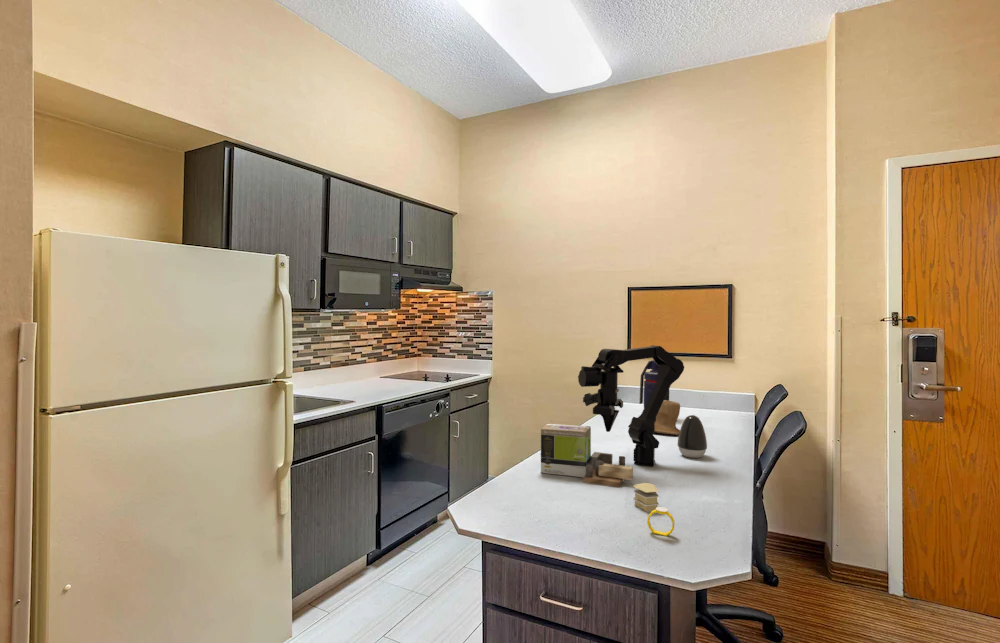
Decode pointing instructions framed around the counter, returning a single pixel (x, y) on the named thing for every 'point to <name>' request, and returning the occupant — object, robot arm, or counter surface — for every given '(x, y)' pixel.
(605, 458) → the corner bracket
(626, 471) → the oak leg
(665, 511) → the watch
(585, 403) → the robot arm
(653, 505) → the stacked layers on plate
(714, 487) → the counter surface
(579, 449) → the tea box
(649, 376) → the dark blue tall bottle
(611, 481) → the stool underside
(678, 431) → the tan boot
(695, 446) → the dark egg shaped device
